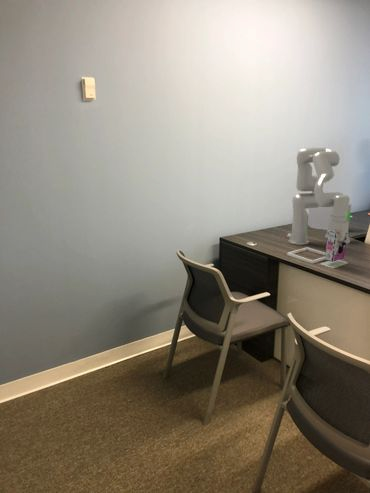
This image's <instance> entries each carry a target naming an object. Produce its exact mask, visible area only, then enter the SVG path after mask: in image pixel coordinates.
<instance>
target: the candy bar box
mask: <svg viewBox="0 0 370 493" xmlns="http://www.w3.org/2000/svg"><path fill="white" fill-rule="evenodd" d="M338 238H339V232H338V231H334V230H329V231H328V238H327V239H326V248H325V253H326V254H325V255H324V257H325V260H324V261H326V262H327V261H330V262H334V261H336V260H342V259H344V258H345V253H346V246H347V244H346V245H345V246H344V248H343V252H342V253H340V254H339V253H338V249H339V246H340V243H339V242H340V241H338ZM344 241H345V242H346V240H344Z"/></svg>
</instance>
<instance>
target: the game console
mask: <svg viewBox="0 0 370 493" xmlns="http://www.w3.org/2000/svg"><path fill="white" fill-rule="evenodd" d="M351 210H352V203H351V202H349V208H348V212H349V213H350V214H351ZM332 212H333V207H321V206H319V207H317V208H308V228H310V229H315V230H325V231H327V229H328V225H329V222H330V220H332V218H331V217H330V215H332ZM347 222H348V228H349V226H350V225H349V224H350V219H349V220H348V221H347Z"/></svg>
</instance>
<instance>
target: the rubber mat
mask: <svg viewBox="0 0 370 493" xmlns="http://www.w3.org/2000/svg"><path fill="white" fill-rule="evenodd" d="M347 264H349V262H348V261H344V260H342V259H339V260H336V261H334V262H330V261H327V260H326V261H325V262H321V263H319V265H321V266H323V267H327V268H329V269H331V270H333V269H336V268H339V267H342V266H344V265H347Z"/></svg>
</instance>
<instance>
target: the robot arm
mask: <svg viewBox="0 0 370 493" xmlns="http://www.w3.org/2000/svg"><path fill="white" fill-rule="evenodd" d="M311 163H313V166H314V169H315V172H316V175H313V166H312V164H311ZM296 164H297V174H296V175H297V177H296V190H297V191H299V192H304V193H297V194H295V195H293V197H292V200H291V201H292V224H291V226H292V227H291V233H290V232H289V233H287V235H286V237H288V238H289V239H288V243H290V244H291V245H292V244H293V245H298V246H300V245H301V246H305V245H308V244H310V243H309V242H310V241H309V239H307V237H308V228H309V225H308V217H309V212H307V210H306V209H308V210H309V208H317V207H319V206H321V207H333V212H332V215H330V217H331V218H332V220H330V222H329V225H328V229H327V230H326V234H325V235H324V238H325V239H326V240H327V238H328V231H329V230H334V231H338V232H339V238H338V241H340V242H339V243H340V246H339V249H338V253H339V254H340V253H342V252H343V248H344V246H345V245H346V246H347V245H348V244H349V243H351V240H350V237H349V227H348V222H347V216H348V208H349V203H350V198H351V197H349V195H346V194H344V193H342V192H337V191H336V192H335V191H334V192H324V190H323V189H324V184H326V183H328V182H329V181H331V180H333V178H334V176H335V173H334V172H335V171H334V170H333V167H337V166H338V165H339V164H340V155H339V153H338V152H337V151H335V150H333V149H330V148H328V147H304V148H301V149H300V150H298V152H297V155H296ZM305 192H306V193H305ZM307 192H308V193H307ZM344 240H346V242H345V241H344Z"/></svg>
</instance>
